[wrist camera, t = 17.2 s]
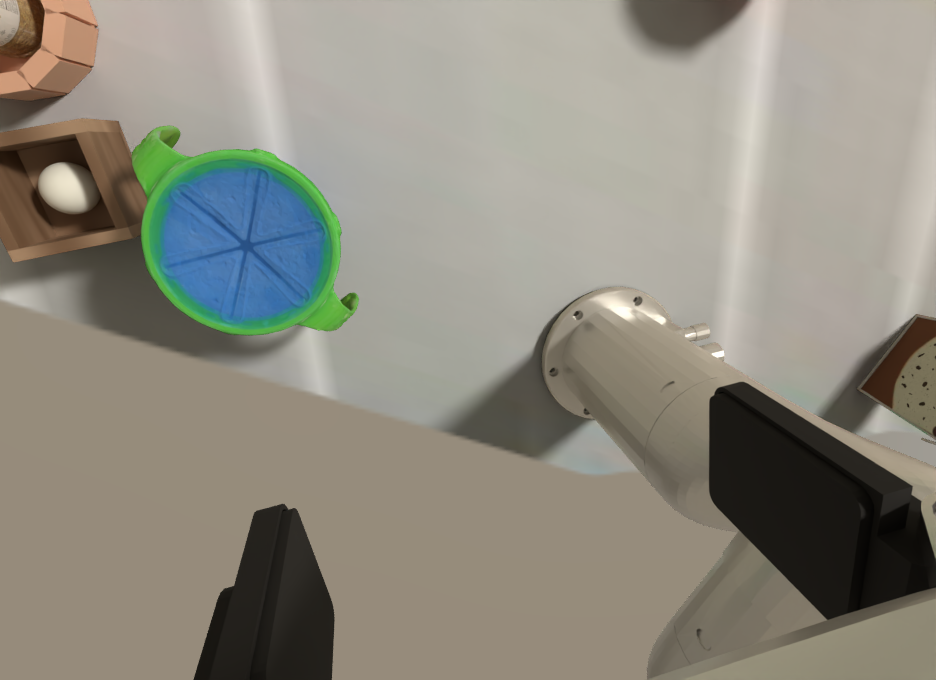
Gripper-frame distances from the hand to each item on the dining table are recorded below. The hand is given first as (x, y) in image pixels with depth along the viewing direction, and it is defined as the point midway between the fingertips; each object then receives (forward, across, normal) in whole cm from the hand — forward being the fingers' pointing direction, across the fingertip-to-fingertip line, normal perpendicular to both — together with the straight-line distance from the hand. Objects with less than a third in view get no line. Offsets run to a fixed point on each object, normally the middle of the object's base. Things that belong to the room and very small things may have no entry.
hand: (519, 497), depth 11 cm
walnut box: (+32, +20, -8) cm, 39 cm away
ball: (+32, +20, -8) cm, 38 cm away
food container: (+32, -49, +24) cm, 64 cm away
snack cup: (+32, +9, -3) cm, 34 cm away
